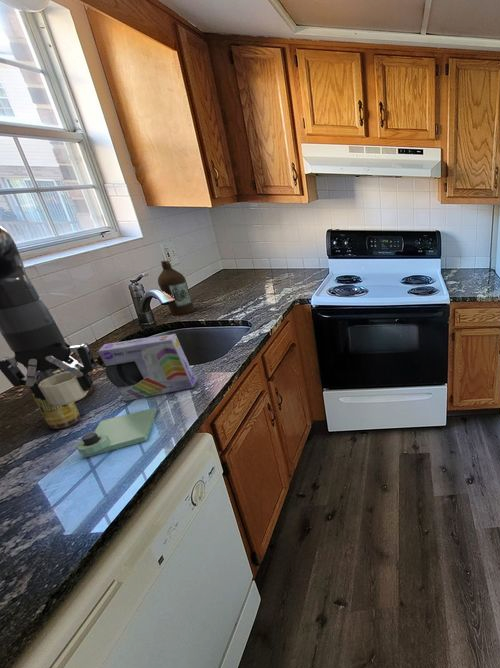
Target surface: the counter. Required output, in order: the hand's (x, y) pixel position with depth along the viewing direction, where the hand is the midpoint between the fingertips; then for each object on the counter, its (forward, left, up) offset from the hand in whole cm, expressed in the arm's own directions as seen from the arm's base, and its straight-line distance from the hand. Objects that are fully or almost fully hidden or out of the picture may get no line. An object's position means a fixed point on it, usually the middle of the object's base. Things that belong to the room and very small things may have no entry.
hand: (67, 393), depth 80 cm
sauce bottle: (-13, +21, -18) cm, 31 cm away
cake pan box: (+7, +27, -18) cm, 34 cm away
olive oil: (+4, +109, -18) cm, 111 cm away
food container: (-15, +36, -18) cm, 43 cm away
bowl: (0, 0, -1) cm, 1 cm away
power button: (-2, +3, -15) cm, 16 cm away
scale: (+2, +8, -18) cm, 20 cm away
